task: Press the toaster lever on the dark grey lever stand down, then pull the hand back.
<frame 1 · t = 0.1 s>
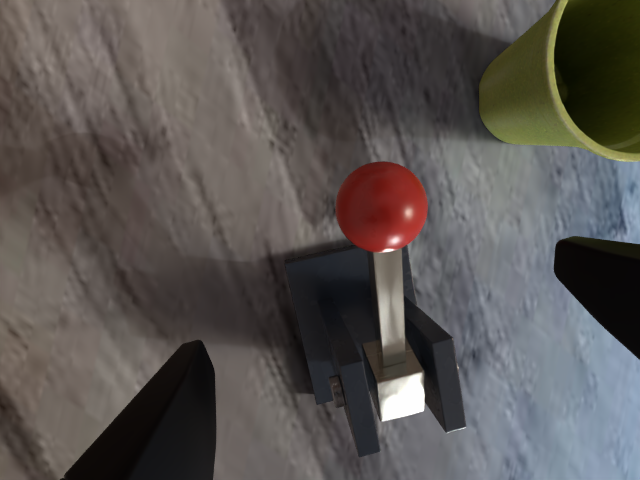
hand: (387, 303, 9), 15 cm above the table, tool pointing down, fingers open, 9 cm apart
plant pot: (516, 97, 24), on the table
toaster lever: (387, 302, 15), point 10 cm above the table, hinge at 20.0°
dark grey lever stand: (356, 316, 25), on the table
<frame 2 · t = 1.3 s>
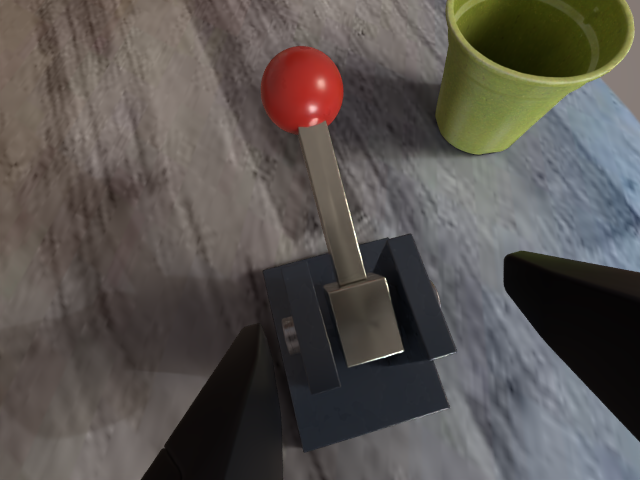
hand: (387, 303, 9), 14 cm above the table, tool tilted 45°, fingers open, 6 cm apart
plant pot: (474, 122, 27), on the table
toaster lever: (330, 201, 14), point 10 cm above the table, hinge at 20.0°
dark grey lever stand: (348, 336, 22), on the table
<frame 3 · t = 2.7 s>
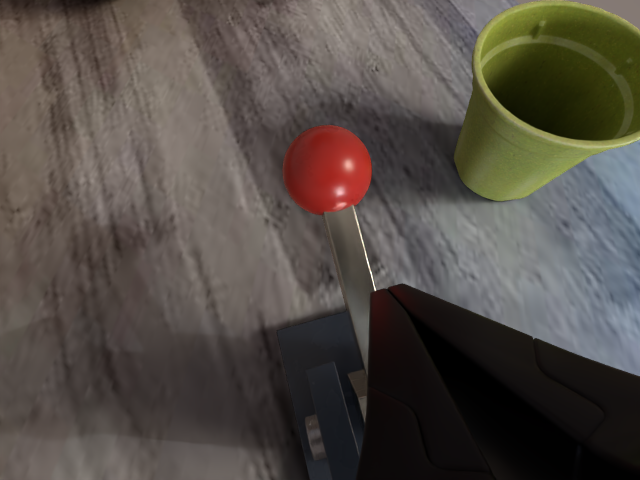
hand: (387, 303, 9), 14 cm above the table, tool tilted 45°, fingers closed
plant pot: (494, 165, 26), on the table
toaster lever: (358, 289, 13), point 10 cm above the table, hinge at 20.0°
dark grey lever stand: (367, 401, 21), on the table
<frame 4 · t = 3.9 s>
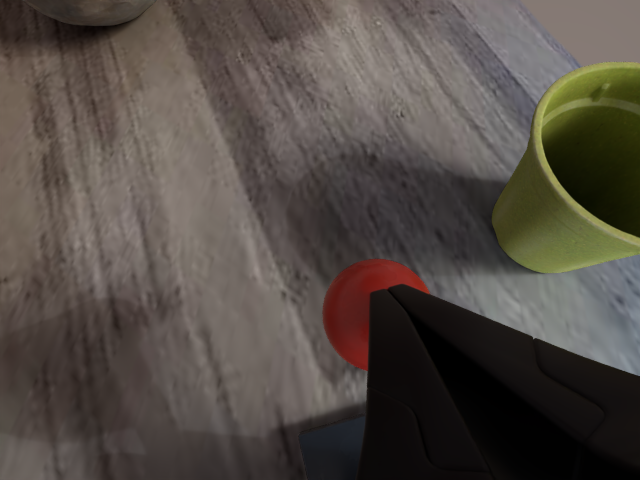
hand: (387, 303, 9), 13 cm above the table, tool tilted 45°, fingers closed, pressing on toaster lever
plant pot: (536, 228, 23), on the table
toaster lever: (416, 462, 11), point 10 cm above the table, hinge at 19.2°, touching gripper
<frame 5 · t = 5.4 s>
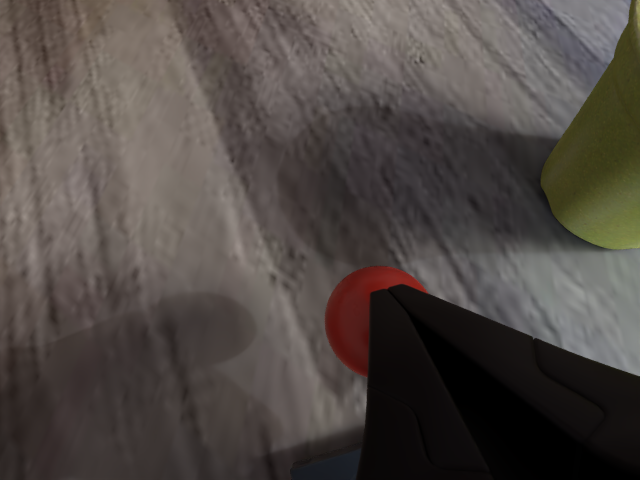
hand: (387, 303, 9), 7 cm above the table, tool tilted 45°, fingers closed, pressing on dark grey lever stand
plant pot: (597, 194, 18), on the table
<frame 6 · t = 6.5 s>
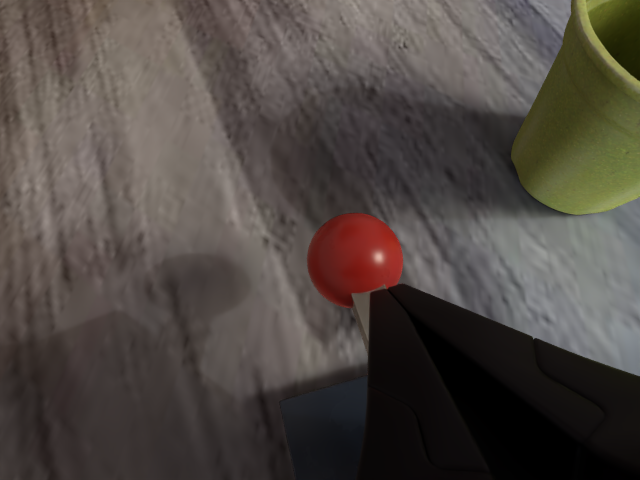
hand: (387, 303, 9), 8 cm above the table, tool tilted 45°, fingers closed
plant pot: (563, 167, 20), on the table
toaster lever: (404, 392, 10), point 7 cm above the table, hinge at -16.2°
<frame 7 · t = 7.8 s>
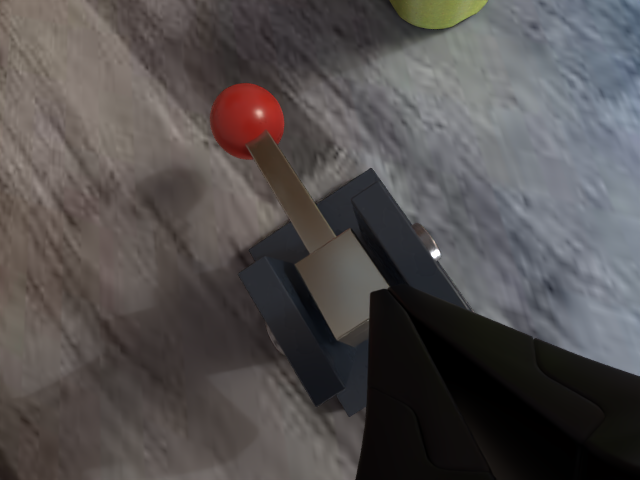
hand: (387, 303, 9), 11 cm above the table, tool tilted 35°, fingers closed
toaster lever: (291, 192, 14), point 7 cm above the table, hinge at -16.2°
dark grey lever stand: (361, 287, 20), on the table
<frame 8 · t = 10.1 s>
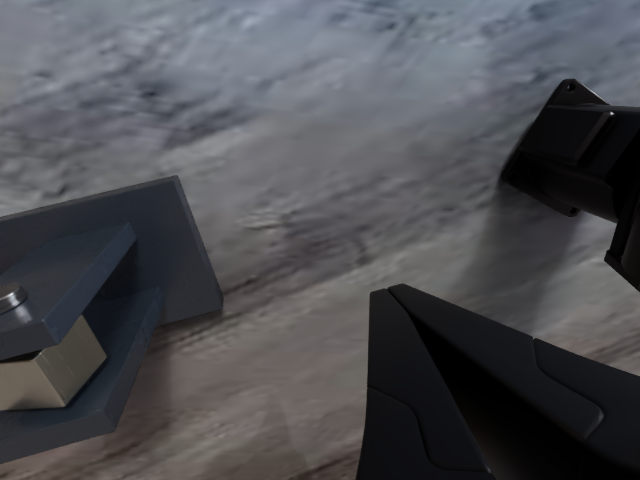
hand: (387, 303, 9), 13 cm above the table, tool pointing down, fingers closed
dark grey lever stand: (115, 263, 21), on the table
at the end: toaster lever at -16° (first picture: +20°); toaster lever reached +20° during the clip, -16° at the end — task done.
